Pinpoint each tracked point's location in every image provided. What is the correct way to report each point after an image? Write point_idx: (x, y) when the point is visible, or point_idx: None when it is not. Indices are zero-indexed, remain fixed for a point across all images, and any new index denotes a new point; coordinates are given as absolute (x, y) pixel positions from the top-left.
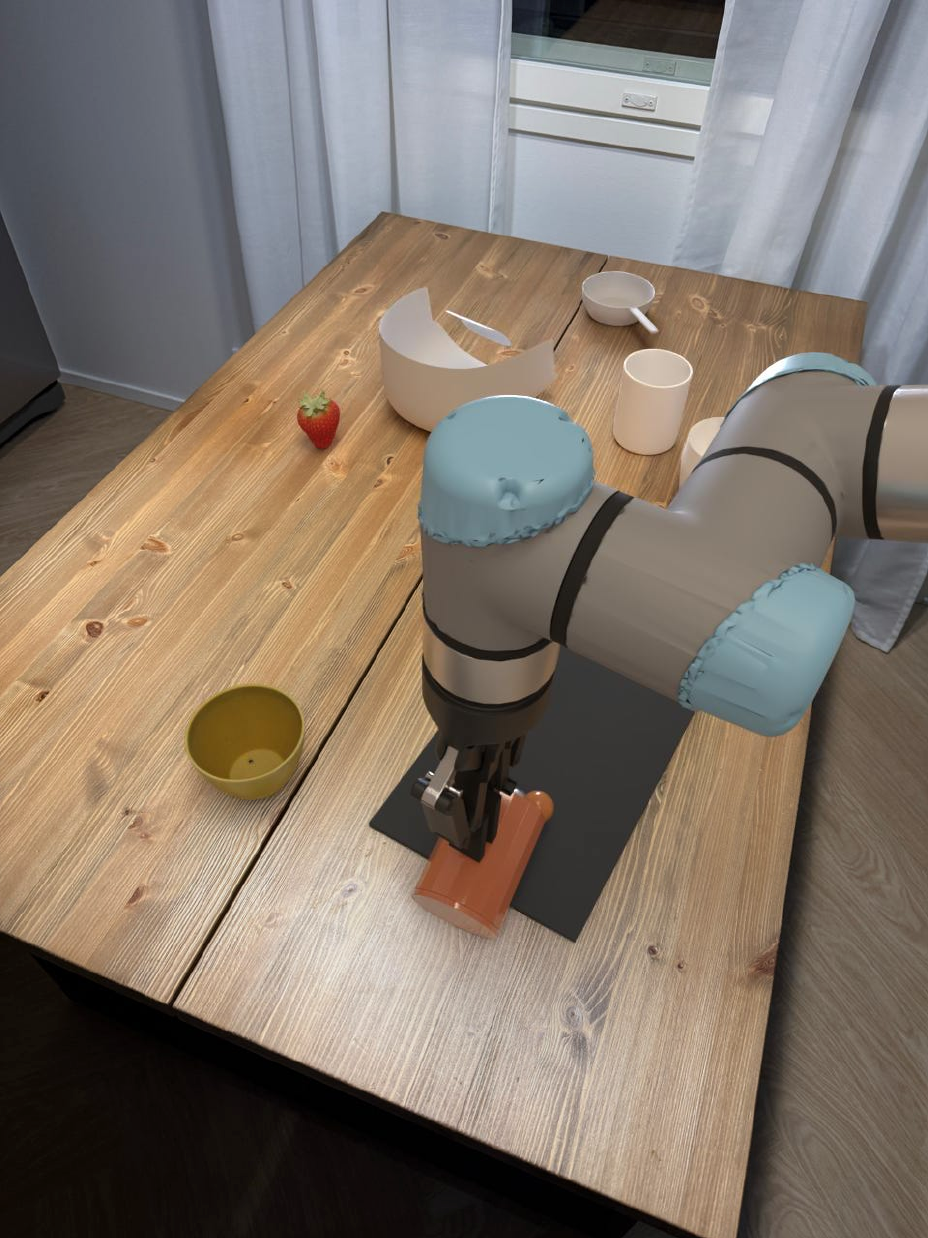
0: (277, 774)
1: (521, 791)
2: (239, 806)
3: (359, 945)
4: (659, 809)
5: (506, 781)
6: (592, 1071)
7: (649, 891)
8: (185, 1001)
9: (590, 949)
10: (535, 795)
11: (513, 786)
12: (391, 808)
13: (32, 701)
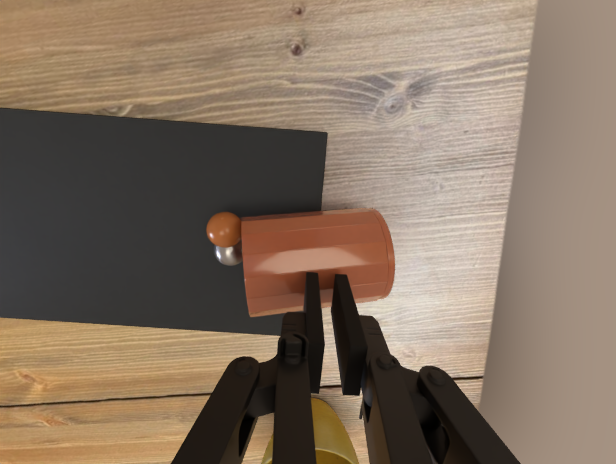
0: (331, 442)
1: (216, 249)
2: (339, 410)
3: (404, 295)
4: (140, 102)
5: (289, 360)
6: (438, 65)
7: (236, 78)
8: (482, 370)
9: (325, 115)
10: (217, 240)
11: (289, 344)
12: None
13: None
